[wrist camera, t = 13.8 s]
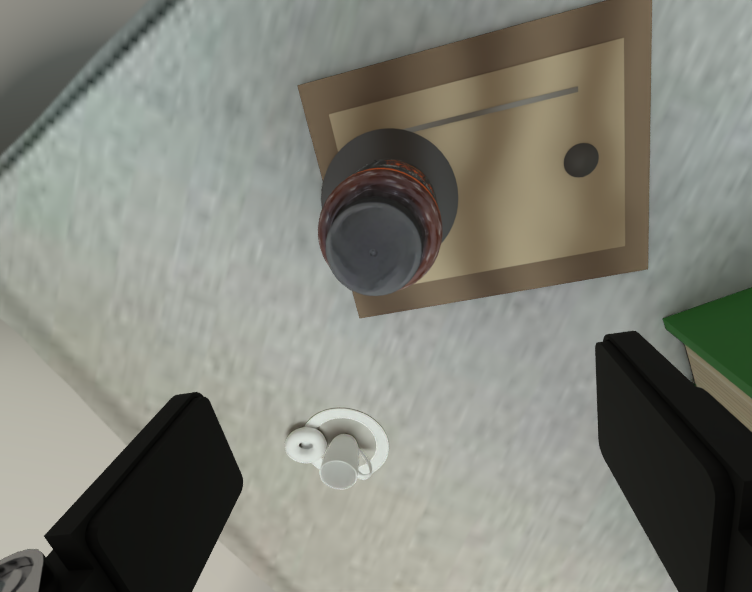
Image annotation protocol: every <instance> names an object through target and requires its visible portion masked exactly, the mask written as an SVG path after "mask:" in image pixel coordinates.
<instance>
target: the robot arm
mask: <svg viewBox="0 0 752 592" xmlns="http://www.w3.org/2000/svg"><path fill="white" fill-rule="evenodd" d="M595 356H596V384H597V412H598V439H599V446H600V450H601V453H602V455H603V458H604V459H605V461H606V463H607V465H608V467H609V468H610V470H611V472H612V474H613V476H614V477H615V479H616V481H617V483H618V485H619V486H620V488H621V490H622V492H623V493H624V495H625V497H626V499H627V501H628V502H629V504H630V506H631V508H632V510H633V511H634V513H635V515H636V517H637V518H638V520H639V522H640V524H641V526H642V527H643V529H644V531H645V533H646V535H647V536H648V538H649V540H650V542H651V543H652V545H653V547H654V549H655V551H656V552H657V554H658V556H659V558H660V560H661V561H662V563H663V565H664V567H665V568H666V570H667V572H668V574H669V576H670V577H671V579H672V581H673V583H674V585H675V586H676V588H677V590H678V592H752V432H751V431H750V430H749V429H748V428H747V427H746V426H745V425H744V424H743V423H741V422H740V421H739V420H738V419H737V418H736V417H735V416H734V415H733V414H732V413H730V412H729V411H728V410H727V409H726V408H725V407H724V406H723V405H722V404H721V403H719V402H718V401H717V400H716V399H715V398H714V397H713V396H712V395H711V394H710V393H708V392H707V391H706V390H704V389H703V388H700V387H696V386H695V385H694V384H693V383H692V382H691V381H689V380H688V379H687V378H686V377H685V376H684V375H683V374H682V373H681V372H680V371H679V370H678V369H677V368H676V367H674V366H673V365H672V364H671V363H670V362H669V361H668V360H667V359H666V358H665V357H664V356H663V355H662V354H660V353H659V352H658V351H657V350H656V349H655V348H654V347H653V346H652V345H651V344H650V343H649V342H648V341H647V340H645V339H644V338H643V337H642V336H641V335H640V334H639V333H638V332H636V331H628V332H621V333H614V334H606V335H605V336H604V339H603V342H597V343H596V346H595ZM242 487H243V477H242V474H241V472H240V470H239V467H238V465H237V463H236V460H235V458H234V456H233V453H232V451H231V449H230V447H229V444H228V442H227V440H226V437H225V435H224V433H223V431H222V428H221V426H220V424H219V421H218V419H217V417H216V414H215V412H214V410H213V408H212V405H211V403H210V401H209V399H208V398H206V397H203V395H202V394H200V393H198V392H193V393H186V394H179V395H175V396H173V397H172V398H171V399H170V400H169V401H168V402H167V403H166V405H165V406H164V407H163V408H162V409H161V410H160V411H159V412H158V413H157V414H156V415H155V416H154V418H153V419H152V420H151V421H150V422H149V423H148V424H147V425H146V426H145V427H144V428H143V429H142V430H141V432H140V433H139V434H138V435H137V436H136V437H135V438H134V439H133V440H132V441H131V442H130V443H129V445H128V446H127V447H126V448H125V449H124V450H123V451H122V452H121V453H120V454H119V455H118V457H117V458H116V459H115V460H114V461H113V462H112V463H111V464H110V465H109V466H108V467H107V468H106V470H105V471H104V472H103V473H102V474H101V475H100V476H99V477H98V478H97V479H96V480H95V481H94V482H93V484H92V485H91V486H90V487H89V488H88V489H87V490H86V491H85V492H84V493H83V494H82V495H81V497H80V498H79V499H78V500H77V501H76V502H75V503H74V504H73V505H72V506H71V507H70V508H69V509H68V511H67V512H66V513H65V514H64V515H63V516H62V517H61V518H60V519H59V520H58V521H57V522H56V524H55V525H54V526H53V527H52V528H51V529H50V530H49V531H48V532H47V533H46V534H45V535H44V537H45V538H46V540H47V541H48V543H49V544H50V546H51V547H52V548H53V550H52V551H51V553H50V554H49V555H48V556H47V557H45V556H44V554H43V553H42V552H40V551H39V550H38V549H27V550H23V551H20V552H17V553H14V554H12V555H10V556H8V557H5V558H3V559H2V560H0V592H192V591H193V589H194V587H195V585H196V583H197V580H198V578H199V576H200V574H201V572H202V570H203V568H204V566H205V564H206V562H207V560H208V558H209V556H210V554H211V552H212V550H213V548H214V546H215V544H216V542H217V540H218V538H219V536H220V534H221V532H222V530H223V528H224V526H225V524H226V522H227V520H228V518H229V516H230V514H231V511H232V509H233V507H234V505H235V503H236V501H237V499H238V497H239V495H240V493H241V491H242Z"/></svg>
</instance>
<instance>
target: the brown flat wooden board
mask: <svg viewBox="0 0 752 592" xmlns="http://www.w3.org/2000/svg"><path fill="white" fill-rule="evenodd" d="M651 39H652V0H606V1H603V2H599V3H595V4H592V5H588V6H584V7H581V8H577V9H574V10H570V11H566V12H563V13H559V14H555V15H552V16H548V17H545V18H541V19H537V20H534V21H530V22H526V23H523V24H519V25H516V26H512V27H508V28H505V29H501V30H497V31H494V32H490V33H486V34H483V35H479V36H476V37H472V38H468V39H465V40H461V41H457V42H454V43H450V44H447V45H443V46H439V47H436V48H432V49H428V50H425V51H421V52H418V53H414V54H410V55H407V56H403V57H399V58H396V59H392V60H388V61H385V62H381V63H378V64H374V65H370V66H367V67H363V68H359V69H356V70H352V71H349V72H345V73H341V74H338V75H334V76H330V77H327V78H323V79H320V80H316V81H312V82H309V83H305V84H301V85H298V90H299V94H300V97H301V101H302V105H303V109H304V112H305V116H306V120H307V123H308V127H309V131H310V135H311V138H312V142H313V146H314V150H315V153H316V157H317V161H318V165H319V168H320V172H321V176H322V180H323V185H322V194H321V202H322V208H323V206H324V204H325V202H326V200H327V198H328V197H329V195H330V194H331V193H332V191H333V190H334V189H335V188H336V187H337V186H338V185H339V184H340V183H341V182H343V181H344V180H345V179H346V178H348V177H349V176H351V175H352V174H354V173H355V172H357V171H358V170H360V169H361V168H363V167H364V166H366V165H367V164H370V163H372V162H374V160H381V159H398V160H403V161H406V162H409V163H411V164H413V165H414V166H416V167H418V168H419V169H420V170H421V171H422V172H423V173H424V174H425V175H426V177H427V178H428V179H429V181H430V183H431V184H432V186H433V189H434V192H435V194H436V199H437V203H438V207H439V211H440V215H441V220H442V241H441V246H440V249H439V253H438V256H437V258H436V260H435V262H434V264H433V265H432V267H431V268H430V270H429V271H428V272H427V273H426V274H425V275H424V276H423V277H422V278H421V279H420V280H418V281H417V282H416V283H414V284H413V285H411V286H409V287H407V288H405V289H402V290H399V291H396V292H393V293H391V294H387V295H381V296H367V295H363V294H359V293H357V292H355V291H352V292H353V296H354V299H355V303H356V307H357V311H358V314H359V318H365V317H371V316H377V315H383V314H389V313H394V312H400V311H406V310H412V309H418V308H424V307H430V306H435V305H441V304H447V303H453V302H459V301H465V300H471V299H476V298H482V297H488V296H494V295H500V294H506V293H512V292H517V291H523V290H529V289H535V288H541V287H547V286H553V285H558V284H564V283H570V282H576V281H582V280H588V279H594V278H599V277H605V276H611V275H617V274H623V273H629V272H635V271H640V270H646V269H648V239H649V172H650V106H651Z"/></svg>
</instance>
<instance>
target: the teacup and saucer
mask: <svg viewBox="0 0 752 592" xmlns="http://www.w3.org/2000/svg"><path fill="white" fill-rule="evenodd" d="M336 418H347V419H352V420H355V421H358V422H360V423H362V424H363V425H365V426H366V427H367V428H368V429H369V430H370V431H371V432H372V434H373V435H374V437H375V440H376V451H375V454H374V456H373V457H372V459H371V460H369V459H368V457H367V456H366V455H365V453H364V452H363V451H362V450H361V449H359V447H358V444H357V441H356V440H355V438H354V437H352V436H351V435H348V434H340V435H337V436H336V437H335V438H334V439H333V440H332V441H331V443H330V444H329V446H328V449H327V451H326V448H327V442H326V439H325V437H324V435H323V434H322V433H321V432H320V431H318V430H317V428H318V427H319V426H320V425H321V424H323V423H324V422H326V421H328V420H331V419H336ZM300 443H301V445H302V448H301V447H299V444H300ZM285 451H286V453H287V455H288V456H289V457H290V458H291V459H292V460H294V461H296V462H300V463H312V464H313V465H314V466H315V467H316V468H318V469H319V470H320V472H319V474H320V478H321V480H322V481H323V482H324V483H325V484H326V485H327V486H329V487H331V488H334V489H347V488H350V487H351V486H353V485H354V484H355V482H356V480H357V478H359V479H362V480H365V479H368V478H369V477H370V476H371V474H372V473H373V472H375V471H376V470H378V469H379V468H380V467H381V466H382V465H383V463H384V462H385V460H386V458H387V455H388V451H389V442H388V438H387V436H386V433H385V431H384V430H383V428H382V427H381V426H380V425H379V424H378V423H377V422H376V421H375V420H374V419H373V418H371V417H370V416H368V415H366V414H364V413H362V412H359V411H356V410H352V409H347V408H334V409H328V410H325V411H322V412H320V413H318V414H316V415H314V416H313V417H312V418H311V419H309V421H308V422H307V423H306V424H305V426H304V427H302V428H298V429H296V430H294V431H293V432H291V433H290V434H289V436H288V437H287V438H286V441H285ZM325 451H326V454H325V456H324V459H322V458H321V457H322V456H323V455H324V453H325ZM359 454H360V455H361V456H362V457H363V458H364V460H365V461H366V464H364V465H362V466H359ZM358 466H359V467H358Z"/></svg>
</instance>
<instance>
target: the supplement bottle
mask: <svg viewBox="0 0 752 592" xmlns="http://www.w3.org/2000/svg"><path fill="white" fill-rule="evenodd" d="M318 239H319V245H320V248H321V251H322V254H323V257H324V259H325V261H326V262H327V264H328V265H329V267H330V268H331V270H332V272H333V274H334V275H335V277H336V278H337V279H338V280H339V281H340V282H341V283H342V284H343V285H345V286H346V287H347V288H348V289H350V290H352V291H355V292H357V293H359V294H363V295H367V296H381V295H387V294H391V293H393V292H396V291H399V290H402V289H405V288H407V287H409V286H411V285H413V284H414V283H416V282H417V281H418V280H420V279H421V278H422V277H423V276H424V275H425V274H426V273H427V272H428V271H429V270H430V268H431V267H432V265H433V264H434V262H435V260H436V258H437V256H438V253H439V249H440V246H441V241H442V220H441V215H440V211H439V207H438V203H437V199H436V194H435V192H434V189H433V186H432V184H431V183H430V181H429V179H428V178H427V177H426V175H425V174H424V173H423V172H422V171H421V170H420V169H419V168H418V167H416V166H414V165H413V164H411V163H409V162H406V161H403V160H398V159H381V160H374V162H372V163H370V164H367V165H366V166H364V167H363V168H361V169H360V170H358V171H357V172H355V173H354V174H352V175H351V176H349V177H348V178H346V179H345V180H344V181H343V182H341V183H340V184H339V185H338V186H337V187H336V188H335V189H334V190H333V191H332V193H331V194H330V195H329V197H328V198H327V200H326V202H325V204H324V206H323V208H322V211H321V214H320V218H319V225H318Z"/></svg>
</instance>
